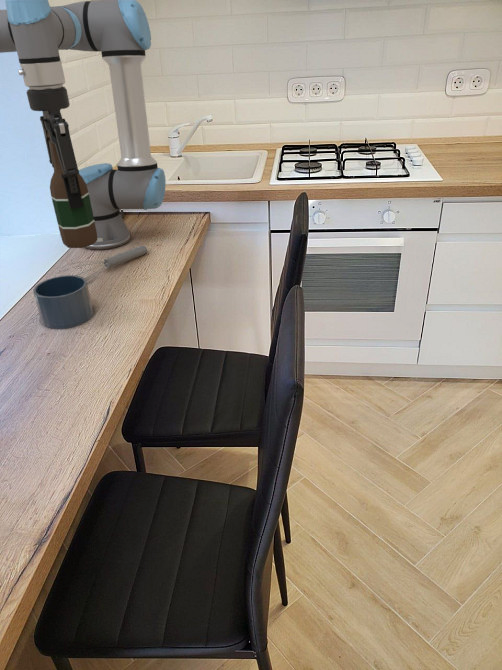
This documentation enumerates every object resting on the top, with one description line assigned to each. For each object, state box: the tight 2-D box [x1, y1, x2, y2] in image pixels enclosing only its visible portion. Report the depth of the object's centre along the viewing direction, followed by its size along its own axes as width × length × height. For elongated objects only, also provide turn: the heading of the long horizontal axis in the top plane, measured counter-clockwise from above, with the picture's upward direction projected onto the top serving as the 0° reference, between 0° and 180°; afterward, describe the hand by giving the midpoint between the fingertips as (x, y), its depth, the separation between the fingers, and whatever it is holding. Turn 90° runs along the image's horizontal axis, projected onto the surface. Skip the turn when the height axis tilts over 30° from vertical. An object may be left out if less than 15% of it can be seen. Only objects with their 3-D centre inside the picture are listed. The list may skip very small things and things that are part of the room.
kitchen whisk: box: [52, 244, 151, 284], centre depth 145 cm, size 6×34×6 cm, turn 146°
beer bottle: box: [47, 132, 97, 249], centre depth 112 cm, size 8×8×24 cm
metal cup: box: [32, 274, 94, 330], centre depth 123 cm, size 12×12×8 cm
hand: (71, 202), depth 114 cm, fingers closed on beer bottle, 7 cm apart
